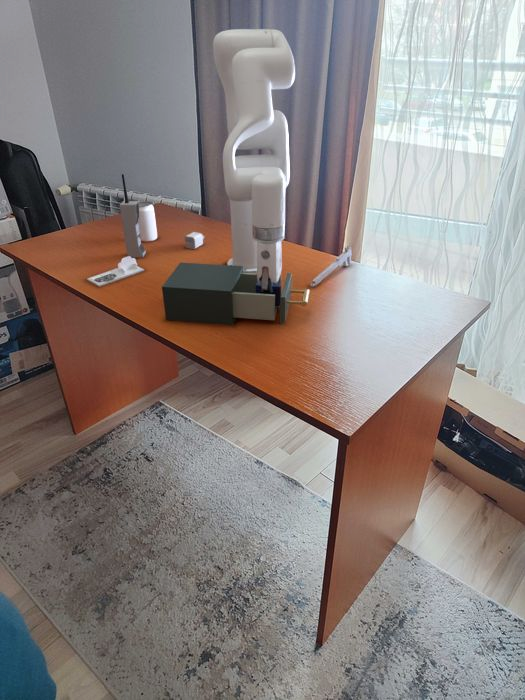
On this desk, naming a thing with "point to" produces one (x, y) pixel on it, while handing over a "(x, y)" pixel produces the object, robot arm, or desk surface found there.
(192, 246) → the usb wall charger
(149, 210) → the can
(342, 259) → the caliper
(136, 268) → the car cutout
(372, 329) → the desk surface
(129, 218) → the vintage mobile phone
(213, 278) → the cabinet
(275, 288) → the card deck
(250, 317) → the drawer
